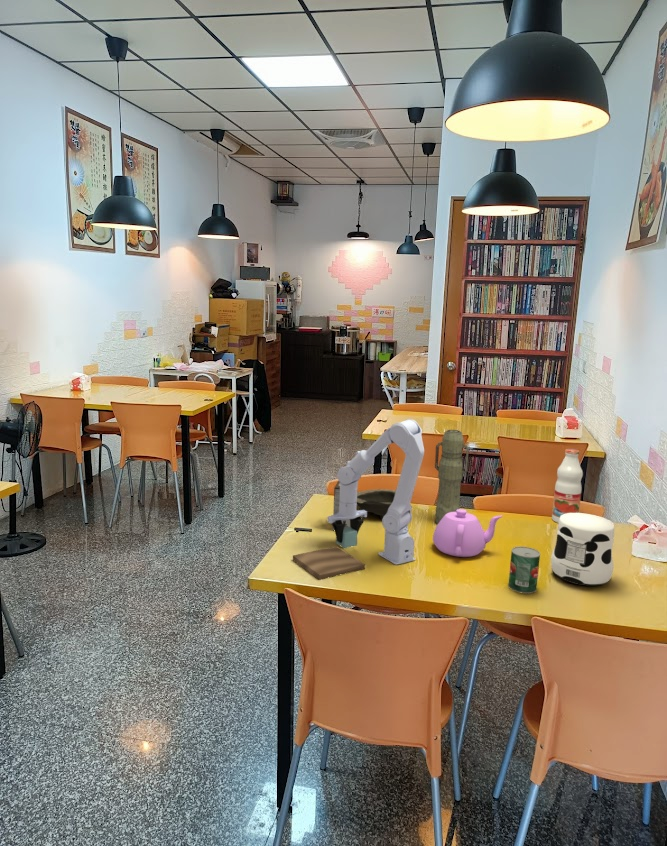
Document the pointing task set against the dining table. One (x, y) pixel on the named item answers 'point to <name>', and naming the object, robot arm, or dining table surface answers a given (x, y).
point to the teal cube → (348, 537)
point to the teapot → (462, 534)
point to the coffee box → (336, 504)
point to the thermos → (450, 472)
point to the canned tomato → (524, 569)
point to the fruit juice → (567, 486)
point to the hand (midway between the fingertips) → (346, 540)
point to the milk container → (583, 549)
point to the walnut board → (328, 562)
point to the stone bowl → (376, 501)
